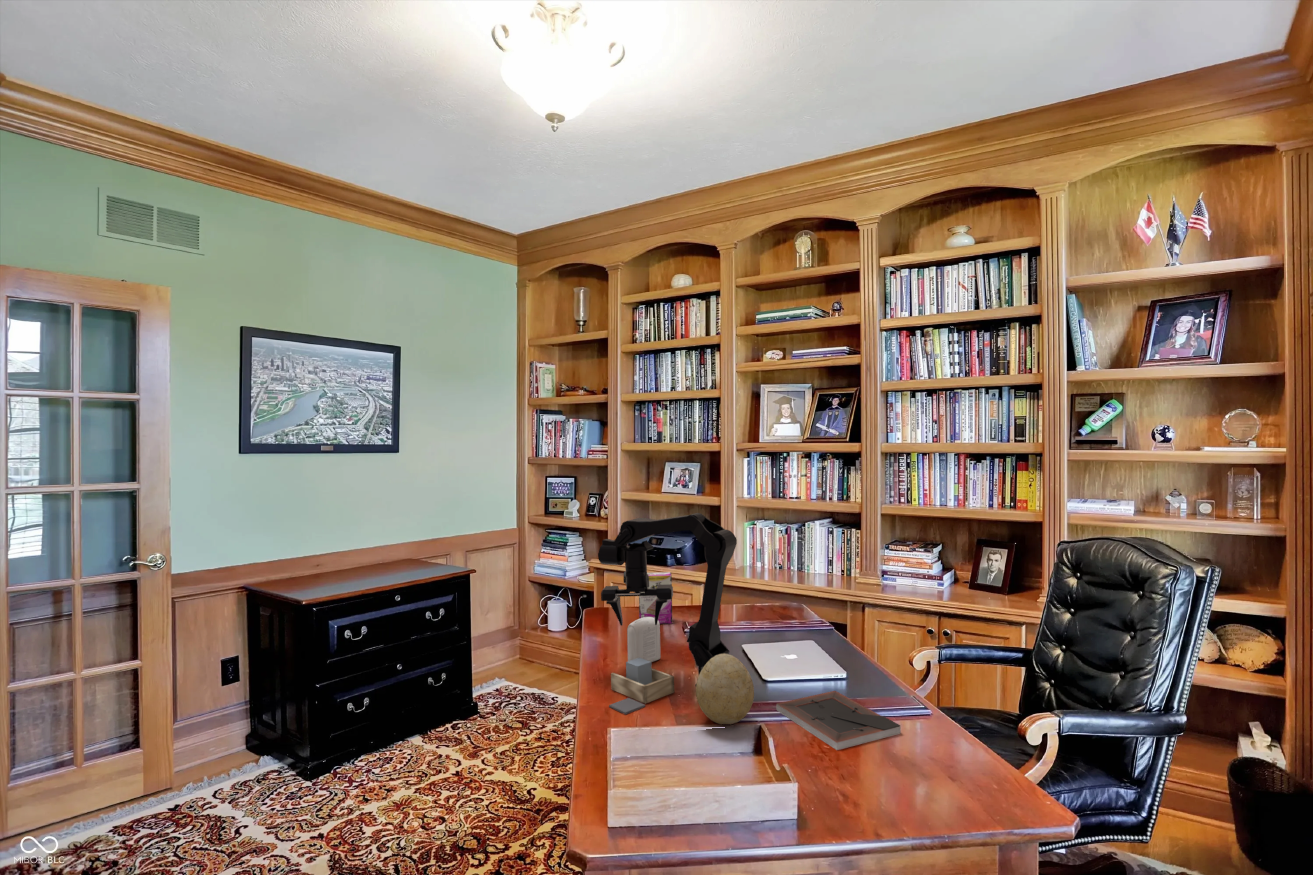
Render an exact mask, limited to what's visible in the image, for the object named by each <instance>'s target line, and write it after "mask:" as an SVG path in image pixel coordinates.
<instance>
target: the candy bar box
mask: <svg viewBox="0 0 1313 875" xmlns="http://www.w3.org/2000/svg"><path fill="white" fill-rule="evenodd" d="M647 574H648V575H649V587H648V589H654V588H657V587H658V585H670V584H671V585H672V586H673V584H672V583H673V579H672V572H667V571H665V572H647ZM640 593H645V592H640ZM656 599H657V596H638V619H640V618H643V617H653V618H655V606H656ZM658 621H659V623H660V625H667V624H669V625H670V624H671V625H672V624H673V598H672V599H670V600H668V601H667V603H663V605H662V607H661V610H660V614H659V618H658Z"/></svg>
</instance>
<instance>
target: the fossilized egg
mask: <svg viewBox="0 0 1313 875" xmlns="http://www.w3.org/2000/svg"><path fill="white" fill-rule="evenodd" d="M696 684H697V685H696V686H695V696H696V700H697V703H698V706H699V708H700V709H701V711H702V713H703V714H704V715H705V716H706V717H707V718H708V719H709V720H710V721H712V722H714V723H716V724H719V725H722V724H730V725H733V724H736V723H738V722H740V721H741V720H743V719H744V718H745V717H746V716H747V715H748V714H749V712H750V711H751V708H752V706H753V703H754V699H755V688H754V687H755V686H754V683H753V679H752V676H751V674H750V672H749V671H748V669H747V667H746V666H745V665H744V664H743V663H742V662H741V661H740V659H739V658H737V657H735V655H732V654H730V653H729V654H719V655H716V656H714V657H713V658H711V659H710V660H709V661H708V662H707V663H706V664H705V666H704V667H703V669H702V670H701V672H700V674H699V673H698V677H697V681H696Z"/></svg>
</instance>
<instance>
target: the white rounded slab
mask: <svg viewBox="0 0 1313 875" xmlns="http://www.w3.org/2000/svg"><path fill="white" fill-rule="evenodd" d="M626 634H627V642H626V643H627V645H626V646H627V662H628V661H631V660H634V659H637V658H642V659H645V660H648V661H651V663H653V662H656V661H658V660H660V659H661V624H660V623H659V621H658V622H657V625H655V618H653V617H643V618H640V619H639V618H638V619H635V620H634V621H632V622H631V623H629V625H628V626H627V630H626Z"/></svg>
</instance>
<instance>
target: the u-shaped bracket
mask: <svg viewBox="0 0 1313 875" xmlns="http://www.w3.org/2000/svg"><path fill="white" fill-rule="evenodd" d="M651 668H652V667H651ZM610 686H611V687H610V688H611V691H614V692H617V693H619V694H621V695H623V696H626V697H627V698H630V699H633V700H635V701H637V702H640V703H642V704H644V705H646V704H648V703H651V702H653V701H656V700H658V699H661V698H663V697H665V696H668V695H672V694H674V693H675V676H674V675H672V674H669V673H666V672H663V671H660V670H658V669H655V668H652V683H649V684H647V685H643V684H641V683H638V682H636V681H633V680H631V679H628V678H626V676H623V675H620V674H618V673H615V672H611V673H610Z"/></svg>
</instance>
